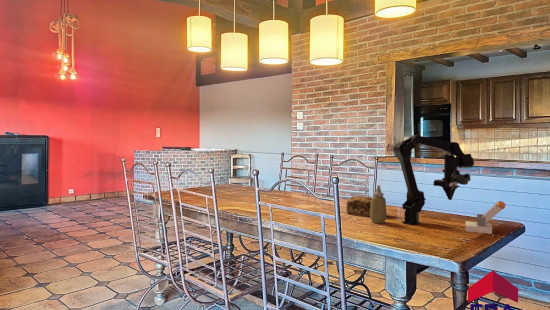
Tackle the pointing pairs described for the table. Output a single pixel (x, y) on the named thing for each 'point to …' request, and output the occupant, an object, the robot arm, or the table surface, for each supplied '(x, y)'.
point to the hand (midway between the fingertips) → (450, 199)
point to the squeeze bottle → (378, 207)
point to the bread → (359, 205)
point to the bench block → (479, 225)
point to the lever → (493, 211)
